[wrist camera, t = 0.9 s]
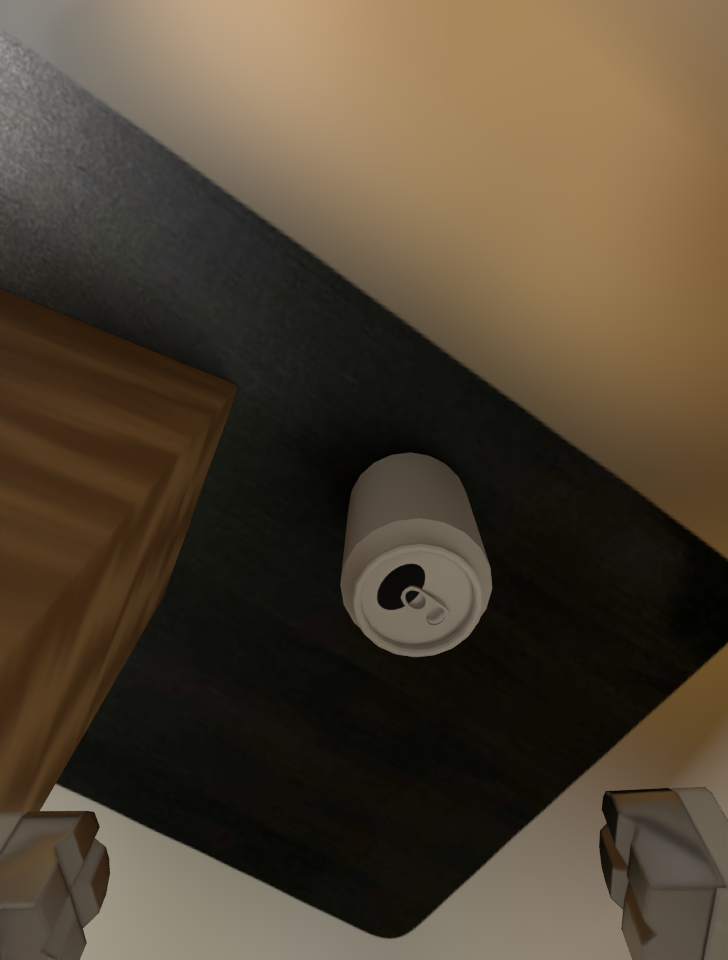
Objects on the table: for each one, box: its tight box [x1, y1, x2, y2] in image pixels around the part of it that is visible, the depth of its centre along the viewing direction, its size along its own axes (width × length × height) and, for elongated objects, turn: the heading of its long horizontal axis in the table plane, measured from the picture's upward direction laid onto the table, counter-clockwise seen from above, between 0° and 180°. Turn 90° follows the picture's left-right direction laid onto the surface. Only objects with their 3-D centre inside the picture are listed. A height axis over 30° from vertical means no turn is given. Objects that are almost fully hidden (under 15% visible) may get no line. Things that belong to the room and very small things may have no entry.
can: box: [341, 453, 492, 657], centre depth 36 cm, size 8×8×12 cm
